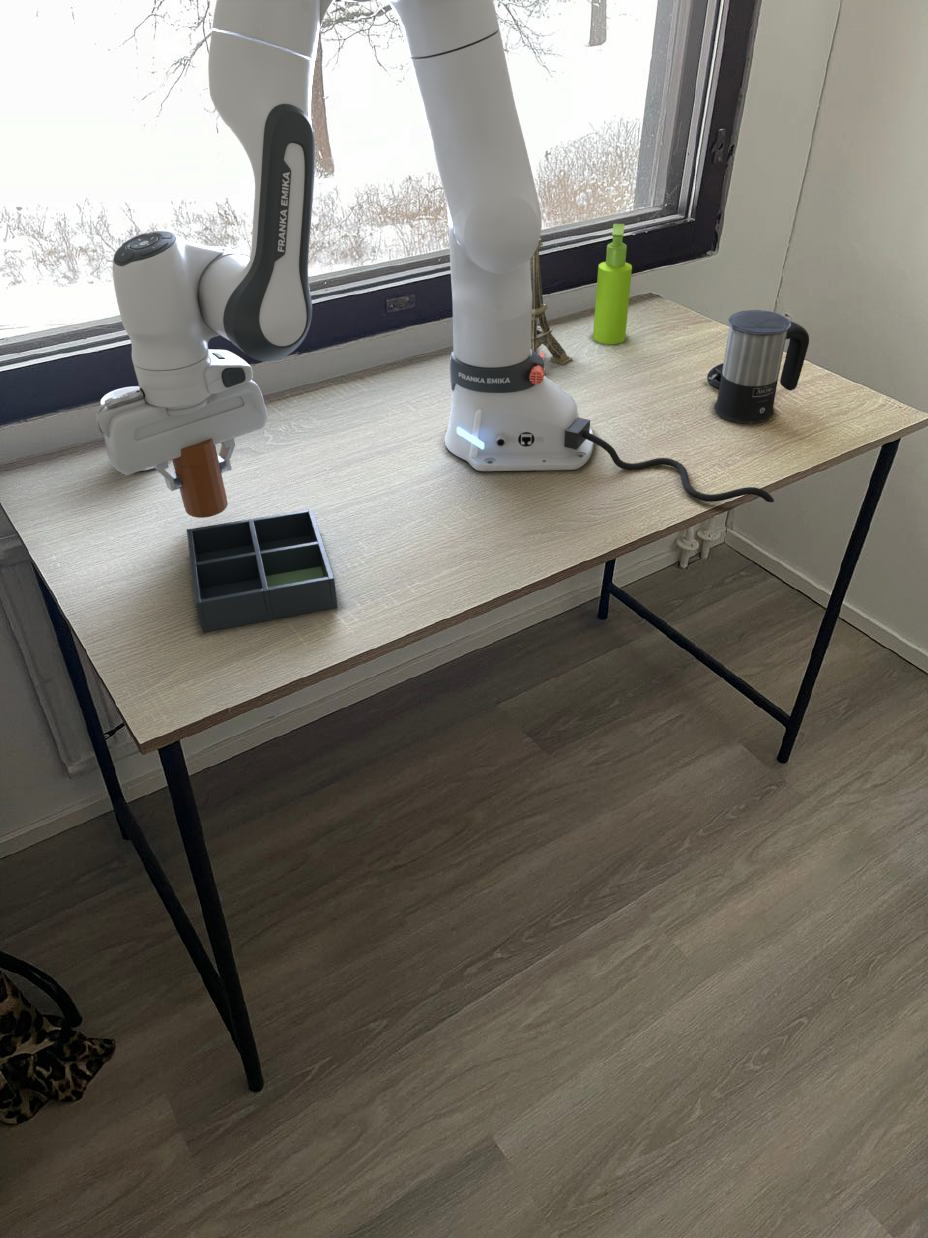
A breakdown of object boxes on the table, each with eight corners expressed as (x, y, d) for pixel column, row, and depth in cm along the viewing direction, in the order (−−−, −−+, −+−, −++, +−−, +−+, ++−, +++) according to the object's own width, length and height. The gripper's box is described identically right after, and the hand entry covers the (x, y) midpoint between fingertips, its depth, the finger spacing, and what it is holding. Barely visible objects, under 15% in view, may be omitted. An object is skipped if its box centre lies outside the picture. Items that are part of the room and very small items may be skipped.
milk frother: (747, 430, 144) (765, 337, 135) (669, 396, 154) (681, 307, 144) (803, 404, 151) (824, 313, 142) (725, 372, 161) (740, 285, 151)
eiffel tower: (572, 359, 166) (581, 210, 150) (535, 379, 160) (540, 226, 144) (525, 344, 171) (529, 199, 155) (488, 362, 165) (488, 213, 149)
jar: (233, 496, 125) (219, 429, 119) (218, 519, 121) (202, 450, 115) (195, 494, 126) (178, 427, 120) (178, 516, 122) (160, 447, 116)
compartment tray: (316, 536, 123) (312, 508, 120) (337, 607, 111) (334, 578, 109) (193, 557, 120) (186, 529, 117) (202, 632, 108) (195, 603, 105)
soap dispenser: (591, 345, 170) (600, 231, 158) (593, 330, 176) (602, 219, 163) (624, 347, 169) (635, 232, 157) (625, 332, 175) (636, 220, 162)
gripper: (101, 413, 106) (132, 517, 114) (263, 363, 115) (280, 462, 124) (82, 394, 110) (113, 496, 118) (240, 347, 119) (258, 444, 128)
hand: (200, 478), depth 121 cm, fingers closed on jar, 5 cm apart
